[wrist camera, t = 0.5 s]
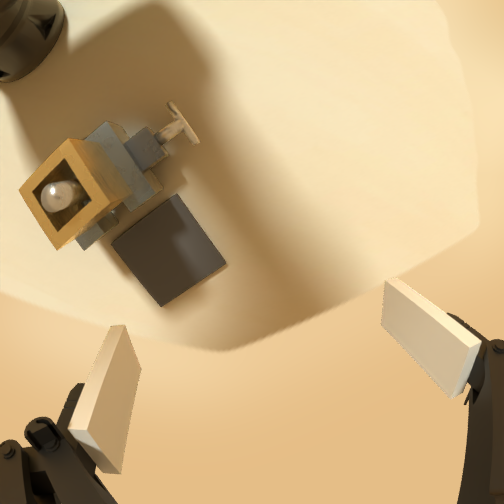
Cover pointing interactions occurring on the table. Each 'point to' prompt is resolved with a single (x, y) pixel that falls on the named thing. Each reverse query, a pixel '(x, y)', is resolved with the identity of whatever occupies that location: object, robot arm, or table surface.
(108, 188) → the open wooden box
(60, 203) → the vise
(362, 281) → the table surface
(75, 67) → the table surface
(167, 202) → the mat
